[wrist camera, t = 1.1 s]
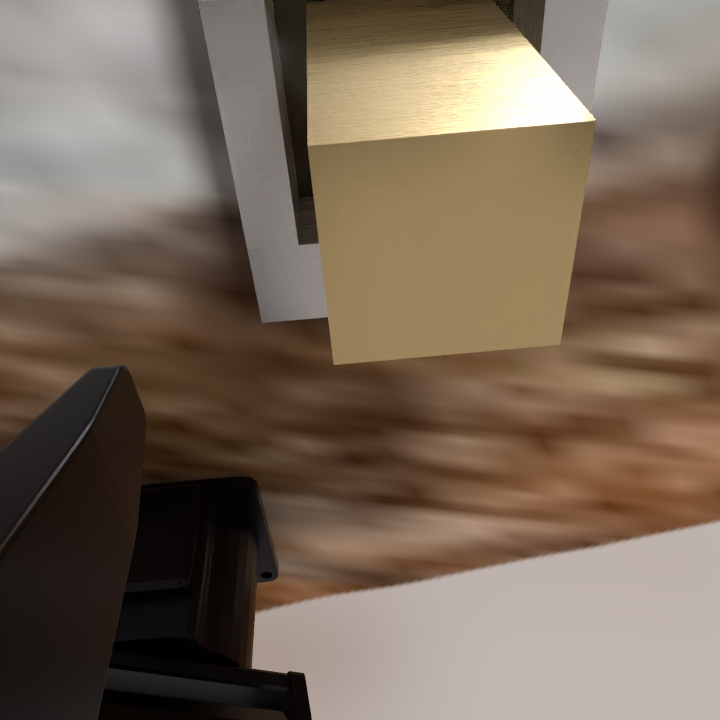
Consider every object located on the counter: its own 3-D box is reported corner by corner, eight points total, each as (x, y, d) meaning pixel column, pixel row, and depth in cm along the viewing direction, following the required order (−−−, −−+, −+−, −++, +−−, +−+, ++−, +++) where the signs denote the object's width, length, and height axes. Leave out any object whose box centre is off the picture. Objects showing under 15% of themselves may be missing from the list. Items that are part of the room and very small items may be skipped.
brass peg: (474, 155, 18) (560, 344, 12) (323, 168, 18) (333, 364, 12) (481, -13, 16) (596, 120, 9) (306, 2, 15) (307, 145, 9)
